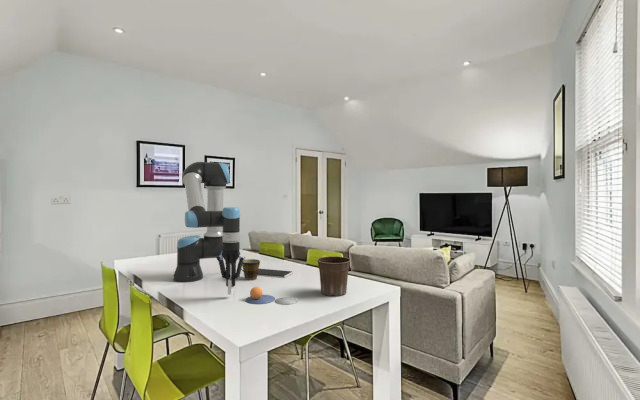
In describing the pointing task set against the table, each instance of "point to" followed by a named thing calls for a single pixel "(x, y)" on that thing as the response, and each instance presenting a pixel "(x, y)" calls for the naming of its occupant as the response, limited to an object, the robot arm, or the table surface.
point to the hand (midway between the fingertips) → (230, 293)
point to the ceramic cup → (250, 268)
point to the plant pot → (333, 275)
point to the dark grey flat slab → (274, 273)
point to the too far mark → (286, 300)
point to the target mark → (261, 299)
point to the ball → (256, 292)
